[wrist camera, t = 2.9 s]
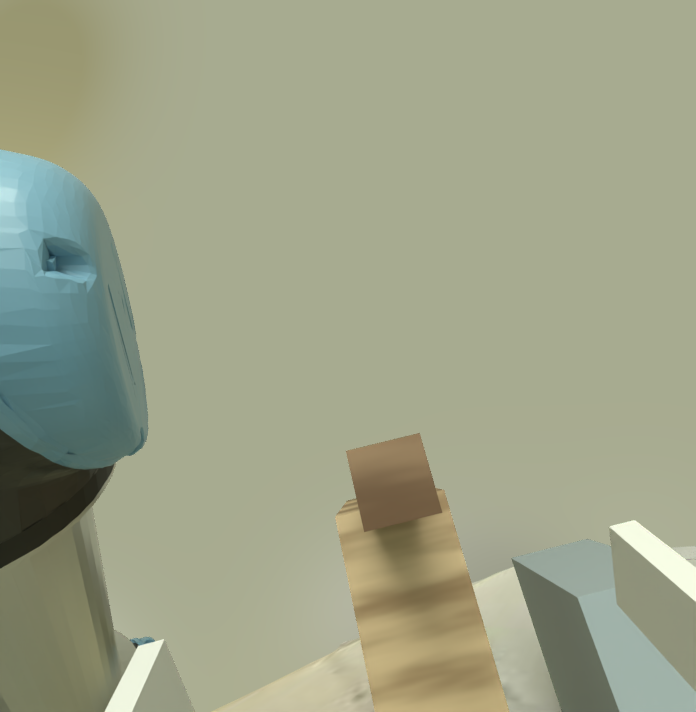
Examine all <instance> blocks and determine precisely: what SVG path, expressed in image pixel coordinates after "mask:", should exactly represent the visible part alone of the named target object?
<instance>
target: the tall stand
mask: <svg viewBox="0 0 696 712" xmlns="http://www.w3.org/2000/svg"><path fill="white" fill-rule="evenodd" d="M436 492H437V495H438V499H439V502H440V506H441V509H442V512H443V513H439V514H435V515H431V516H427V517H423V518H419V519H415V520H411V521H407V522H403V523H399V524H395V525H391V526H387V527H383V528H379V529H375V530H371V531H367V532H364V529H363V525H362V520H361V516H360V511H359V507H358V502H357V498H356V499H352V500H348V501H347V502H346V503H345V504H344V506H343V507H342V508H341V510H340V511H339V513H338V514H337V515H336V517H335V518H336V523H337V528H338V533H339V538H340V543H341V547H342V552H343V557H344V562H345V567H346V572H347V576H348V582H349V587H350V592H351V596H352V601H353V606H354V611H355V616H356V621H357V626H358V630H359V636H360V640H361V645H362V650H363V655H364V660H365V665H366V670H367V675H368V680H369V684H370V689H371V694H372V699H373V704H374V709H375V712H509V709H508V705H507V702H506V699H505V695H504V692H503V688H502V685H501V682H500V678H499V675H498V671H497V668H496V665H495V661H494V658H493V654H492V651H491V648H490V644H489V641H488V637H487V634H486V631H485V627H484V624H483V620H482V617H481V614H480V610H479V607H478V604H477V600H476V597H475V593H474V590H473V587H472V583H471V580H470V576H469V573H468V570H467V566H466V563H465V560H464V556H463V553H462V549H461V546H460V542H459V539H458V536H457V532H456V529H455V525H454V522H453V519H452V515H451V512H450V508H449V505H448V502H447V498H446V495H445V491H444V490H442V489H437V488H436Z"/></svg>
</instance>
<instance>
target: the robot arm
mask: <svg viewBox="0 0 696 712" xmlns="http://www.w3.org/2000/svg"><path fill="white" fill-rule="evenodd" d="M147 434H148V412H147V402H146V395H145V384H144V378H143V371H142V365H141V361H140V356H139V350H138V345H137V342H136V332H135V326H134V320H133V315H132V311H131V306H130V302H129V297H128V292H127V288H126V284H125V280H124V276H123V272H122V268H121V264H120V261H119V257H118V254H117V250H116V247H115V243H114V240H113V237H112V234H111V231H110V228H109V225H108V222H107V220H106V217H105V215H104V213H103V211H102V209H101V207H100V205H99V203H98V202H97V200H96V199H95V197H94V196H93V194H92V193H91V192H90V190H89V189H88V188H87V187H86V186H85V185H84V184H83V183H82V182H81V181H80V180H79V179H77V178H76V177H75V176H73V175H72V174H71V173H69V172H68V171H66V170H65V169H63V168H61V167H60V166H58V165H55V164H53V163H51V162H49V161H46V160H43V159H39V158H36V157H33V156H29V155H23V154H18V153H13V152H9V151H4V150H0V712H195V710H194V708H193V706H192V704H191V701H190V699H189V696H188V694H187V691H186V689H185V687H184V685H183V682H182V680H181V677H180V675H179V673H178V670H177V668H176V665H175V663H174V661H173V658H172V656H171V654H170V651H169V649H168V647H167V644H166V642H165V640H164V639H163V640H159V641H156V642H155V640H154V639H152V638H151V637H143V638H140V639H138V638H134V639H130V640H129V639H128V638H127V637H125V636H124V635H123V634H122V633H120V632H117V631H116V630H114V628H113V623H112V616H111V611H110V605H109V600H108V594H107V588H106V582H105V577H104V571H103V565H102V560H101V554H100V548H99V543H98V537H97V532H96V525H95V520H94V514H93V508H92V506H93V505H94V503H95V502H96V501H97V499H98V498H99V497H100V495H101V494H102V492H103V491H104V489H105V488H106V486H107V484H108V482H109V481H110V479H111V477H112V474H113V471H114V468H115V465H116V462H117V461H118V460H120V459H121V458H122V457H124V456H131V455H133V454H135V453H136V452H137V451H138V450H140V449H141V448H142V447H143V446H144V444H145V442H146V439H147ZM609 531H610V540H611V551H612V561H613V571H614V581H615V590H616V600H617V605H618V606H619V607H620V608H621V609H622V610H623V612H624V613H625V614H626V615H627V616H628V617H629V618H630V619H631V620H632V622H633V623H634V624H635V625H636V626H637V627H638V628H639V629H640V630H641V632H642V633H643V634H644V635H645V636H646V637H647V638H648V639H649V640H650V642H651V643H652V644H653V645H654V646H655V647H656V648H657V649H658V650H659V652H660V653H661V654H662V655H663V656H664V657H665V658H666V659H667V660H668V662H669V663H670V664H671V665H672V666H673V667H674V668H675V669H676V670H677V672H678V673H679V674H680V675H681V676H682V677H683V678H684V679H685V680H686V682H687V683H688V684H689V685H690V686H691V687H692V688H693V689H694V690H695V692H696V567H694V566H693V565H692V564H691V563H689V562H688V561H687V560H685V559H684V558H683V557H682V556H680V555H679V554H678V553H676V552H675V551H674V550H673V549H671V548H670V547H669V546H667V545H666V544H665V543H663V542H662V541H661V540H659V539H658V538H657V537H656V536H654V535H653V534H652V533H651V532H649V531H648V530H647V529H645V528H644V527H643V526H642V525H640V524H639V523H637V522H636V521H635V520H633V521H629V522H625V523H621V524H617V525H613V526H610V527H609Z"/></svg>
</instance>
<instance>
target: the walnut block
mask: <svg viewBox="0 0 696 712" xmlns="http://www.w3.org/2000/svg"><path fill="white" fill-rule="evenodd" d="M346 453H347V458H348V462H349V467H350V471H351V475H352V480H353V484H354V489H355V493H356V498H357V502H358V507H359V511H360V516H361V520H362V525H363V529H364V532H367V531H371V530H375V529H379V528H383V527H387V526H391V525H395V524H399V523H403V522H407V521H411V520H415V519H419V518H423V517H427V516H431V515H435V514H439V513H443V512H442V509H441V506H440V502H439V499H438V495H437V492H436V488H435V485H434V481H433V478H432V474H431V471H430V468H429V464H428V460H427V457H426V454H425V450H424V447H423V443H422V440H421V436H420V433H418V434H413V435H410V436H405V437H401V438H397V439H393V440H389V441H385V442H381V443H377V444H372V445H368V446H364V447H360V448H356V449H352V450H348V451H346Z"/></svg>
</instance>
